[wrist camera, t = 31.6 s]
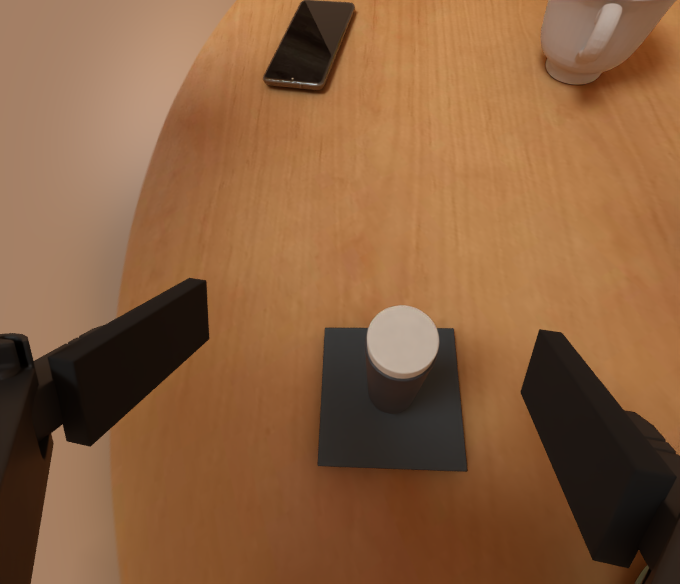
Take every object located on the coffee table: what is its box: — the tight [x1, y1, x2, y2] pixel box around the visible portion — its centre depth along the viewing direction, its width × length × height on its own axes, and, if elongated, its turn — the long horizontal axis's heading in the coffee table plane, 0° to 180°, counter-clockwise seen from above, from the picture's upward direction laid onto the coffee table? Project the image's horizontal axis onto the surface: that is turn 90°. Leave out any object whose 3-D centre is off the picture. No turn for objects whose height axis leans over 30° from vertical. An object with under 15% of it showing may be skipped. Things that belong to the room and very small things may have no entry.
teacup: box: [541, 0, 676, 85], centre depth 36 cm, size 12×15×10 cm
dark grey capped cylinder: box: [365, 305, 439, 414], centre depth 22 cm, size 3×3×13 cm
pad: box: [318, 328, 467, 472], centre depth 28 cm, size 10×10×1 cm
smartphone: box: [263, 0, 355, 90], centre depth 46 cm, size 7×1×16 cm
